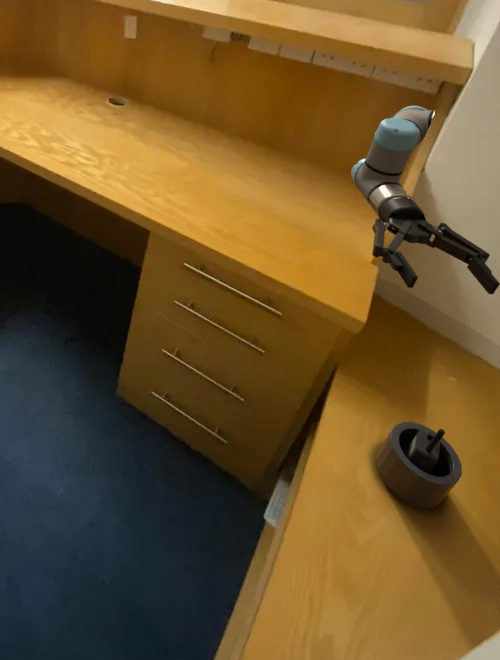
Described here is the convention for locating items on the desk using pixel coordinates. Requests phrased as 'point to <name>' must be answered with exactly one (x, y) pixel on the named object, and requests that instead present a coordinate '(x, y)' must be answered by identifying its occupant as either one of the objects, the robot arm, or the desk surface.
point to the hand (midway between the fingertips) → (453, 285)
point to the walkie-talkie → (424, 449)
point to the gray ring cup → (407, 476)
